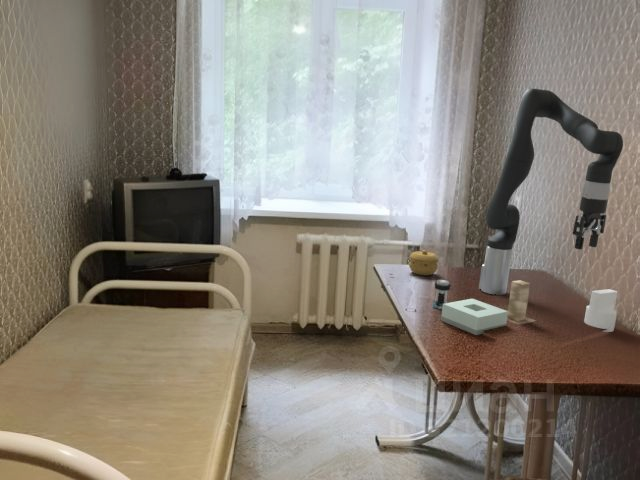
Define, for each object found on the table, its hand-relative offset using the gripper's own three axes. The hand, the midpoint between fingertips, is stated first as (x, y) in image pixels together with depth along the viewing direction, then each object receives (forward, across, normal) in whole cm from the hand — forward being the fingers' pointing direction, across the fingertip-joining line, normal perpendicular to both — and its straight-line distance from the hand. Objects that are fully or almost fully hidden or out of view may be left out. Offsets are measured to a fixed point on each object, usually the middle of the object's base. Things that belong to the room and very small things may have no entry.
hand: (585, 247), depth 188 cm
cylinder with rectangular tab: (+26, -8, +5) cm, 28 cm away
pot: (+27, -2, -67) cm, 72 cm away
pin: (+25, +14, -11) cm, 31 cm away
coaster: (+26, +14, -11) cm, 32 cm away
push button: (+26, +28, -30) cm, 49 cm away
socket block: (+26, +30, -16) cm, 43 cm away
